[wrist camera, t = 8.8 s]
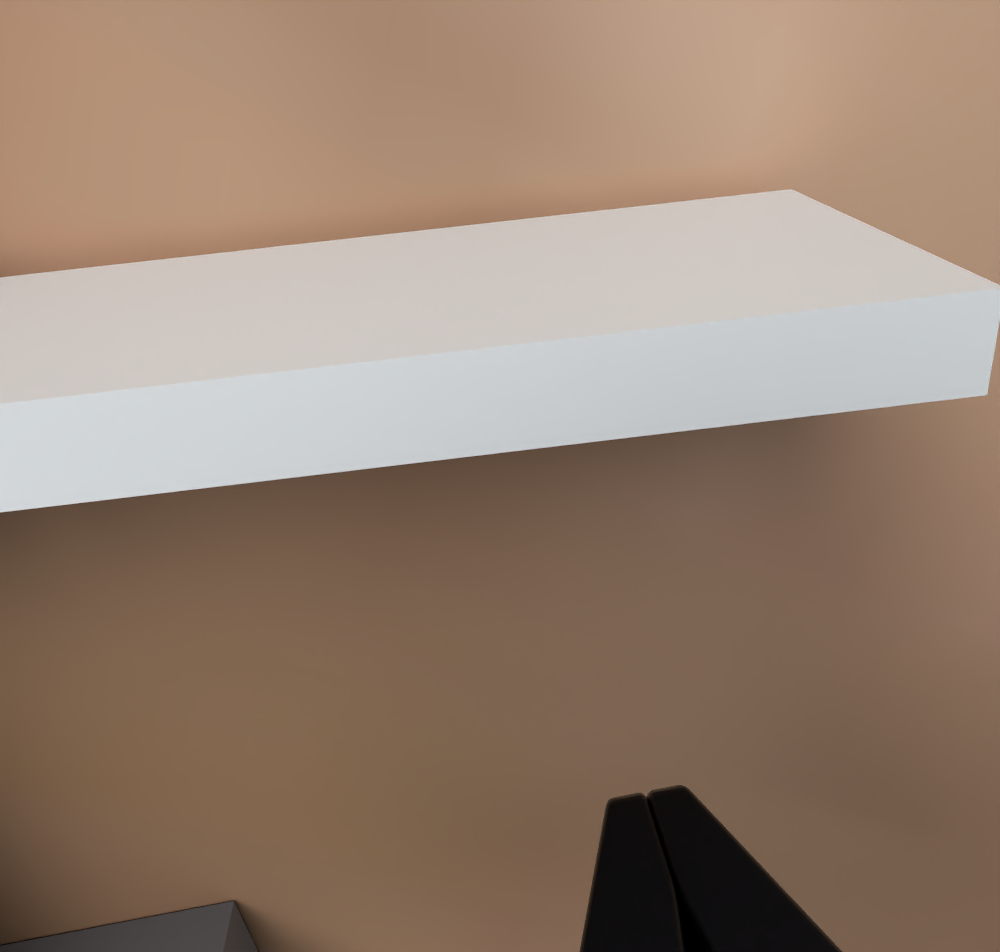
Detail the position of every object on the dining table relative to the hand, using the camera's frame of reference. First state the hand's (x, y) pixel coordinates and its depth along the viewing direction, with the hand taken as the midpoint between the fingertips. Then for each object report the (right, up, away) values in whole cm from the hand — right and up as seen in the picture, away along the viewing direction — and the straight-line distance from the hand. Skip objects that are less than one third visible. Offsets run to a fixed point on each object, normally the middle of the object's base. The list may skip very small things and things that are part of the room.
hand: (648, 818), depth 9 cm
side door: (-3, +6, +3) cm, 8 cm away
